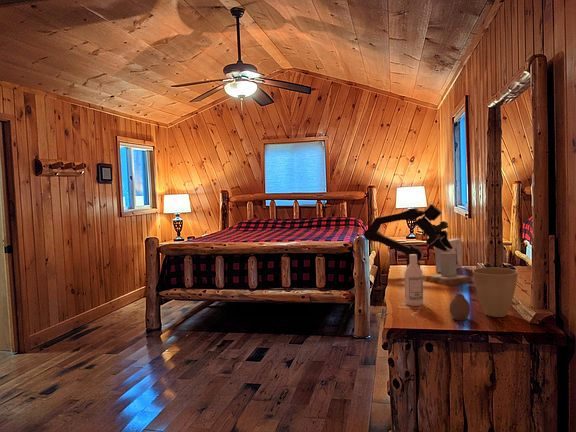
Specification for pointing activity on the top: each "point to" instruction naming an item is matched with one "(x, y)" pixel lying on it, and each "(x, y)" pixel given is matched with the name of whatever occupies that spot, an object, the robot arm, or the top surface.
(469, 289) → the top surface
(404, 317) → the top surface
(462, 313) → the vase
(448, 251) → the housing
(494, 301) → the plant pot
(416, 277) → the bath foam
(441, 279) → the stand
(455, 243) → the skincare box
